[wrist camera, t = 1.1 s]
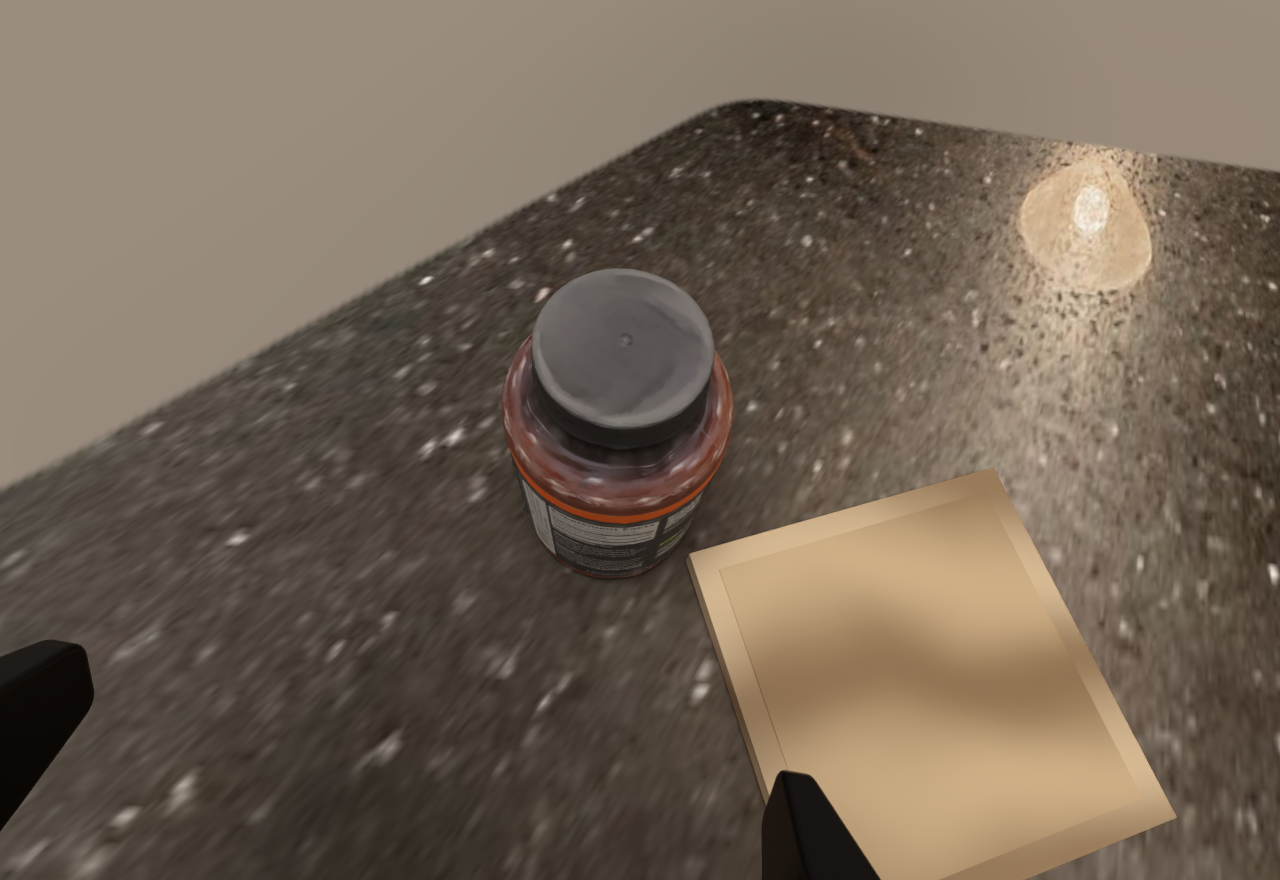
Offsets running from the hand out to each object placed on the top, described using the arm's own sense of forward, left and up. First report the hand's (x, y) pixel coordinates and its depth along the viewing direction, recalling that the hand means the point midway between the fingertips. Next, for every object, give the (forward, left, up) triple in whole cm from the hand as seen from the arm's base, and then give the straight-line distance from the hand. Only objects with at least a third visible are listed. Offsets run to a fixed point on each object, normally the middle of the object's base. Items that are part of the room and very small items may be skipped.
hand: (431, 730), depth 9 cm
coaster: (-6, -11, -14) cm, 19 cm away
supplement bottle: (+5, -7, -14) cm, 17 cm away
